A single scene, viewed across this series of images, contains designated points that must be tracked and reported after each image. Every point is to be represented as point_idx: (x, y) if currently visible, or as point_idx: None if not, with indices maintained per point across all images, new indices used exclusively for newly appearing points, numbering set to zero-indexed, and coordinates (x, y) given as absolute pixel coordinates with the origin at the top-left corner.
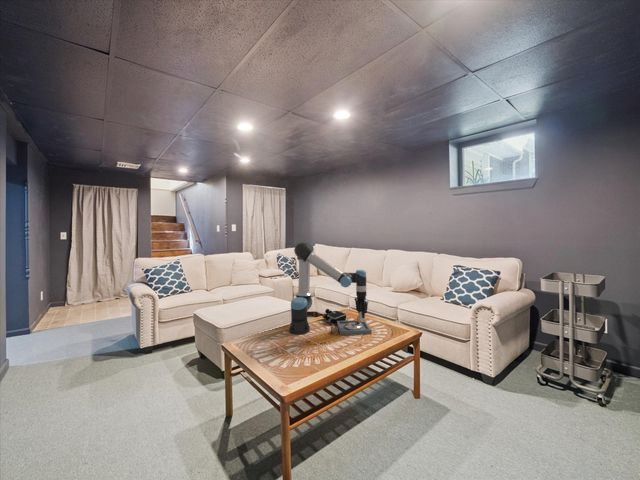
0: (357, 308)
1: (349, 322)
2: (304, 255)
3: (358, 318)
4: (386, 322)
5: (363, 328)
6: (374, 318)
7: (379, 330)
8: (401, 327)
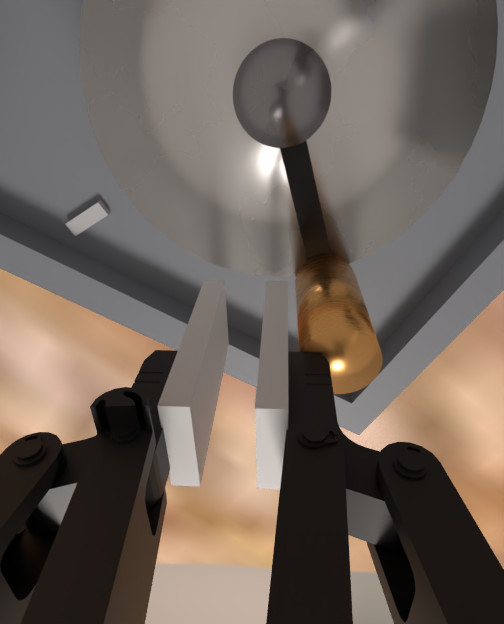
0: (410, 551)
1: None
2: None
3: (311, 315)
4: (213, 550)
5: (119, 210)
6: None
7: (25, 364)
8: None
